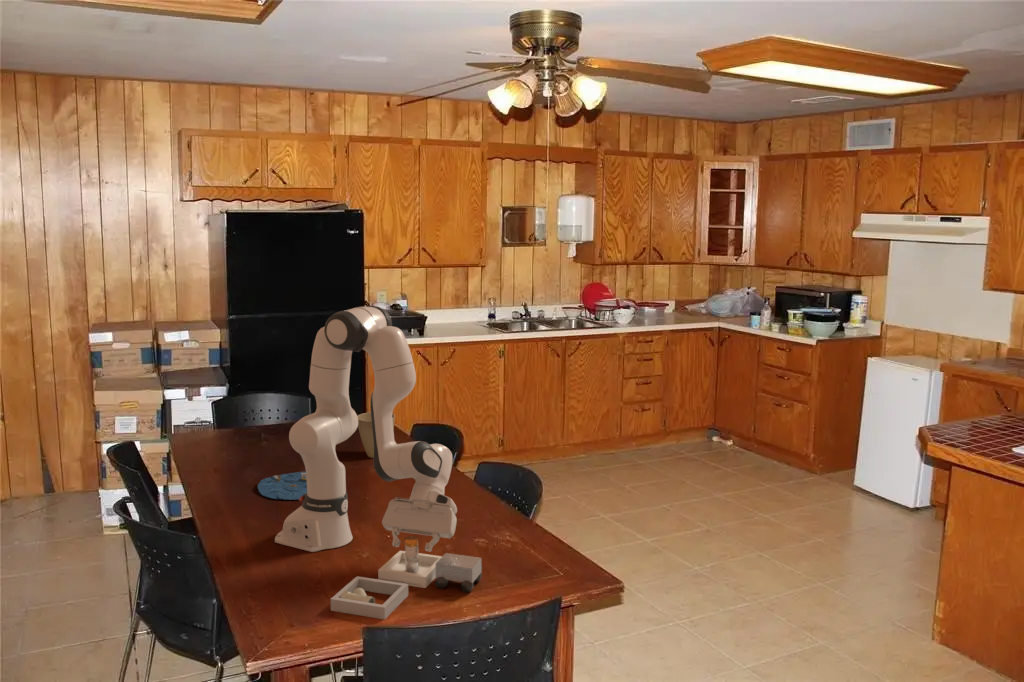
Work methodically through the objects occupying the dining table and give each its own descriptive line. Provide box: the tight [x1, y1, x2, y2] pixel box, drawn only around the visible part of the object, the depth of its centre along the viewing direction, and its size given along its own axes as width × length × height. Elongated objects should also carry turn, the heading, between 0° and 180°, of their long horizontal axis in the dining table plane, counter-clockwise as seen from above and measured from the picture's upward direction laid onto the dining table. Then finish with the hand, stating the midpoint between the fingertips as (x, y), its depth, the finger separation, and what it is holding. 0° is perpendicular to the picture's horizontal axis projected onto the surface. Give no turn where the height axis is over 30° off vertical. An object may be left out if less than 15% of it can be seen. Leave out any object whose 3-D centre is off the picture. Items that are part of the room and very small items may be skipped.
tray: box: [377, 550, 443, 589], centre depth 224 cm, size 13×13×3 cm
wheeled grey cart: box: [434, 552, 483, 594], centre depth 221 cm, size 10×14×6 cm
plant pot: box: [357, 411, 396, 459], centre depth 330 cm, size 15×15×16 cm
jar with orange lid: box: [404, 536, 419, 573], centre depth 224 cm, size 4×4×9 cm
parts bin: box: [330, 576, 409, 620], centre depth 208 cm, size 14×13×3 cm
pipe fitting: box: [340, 588, 376, 604], centre depth 206 cm, size 8×4×7 cm
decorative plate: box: [257, 471, 307, 501], centre depth 294 cm, size 30×30×5 cm
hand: (411, 548), depth 223 cm, fingers open, 8 cm apart
